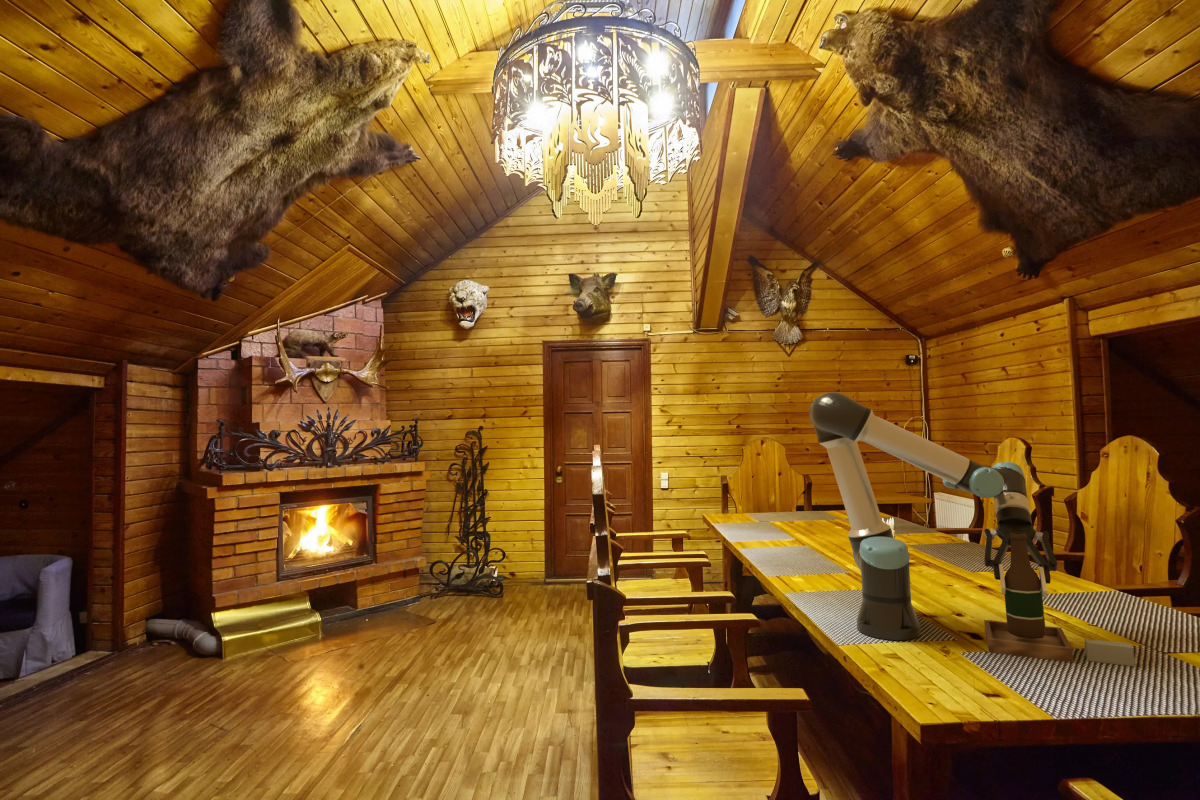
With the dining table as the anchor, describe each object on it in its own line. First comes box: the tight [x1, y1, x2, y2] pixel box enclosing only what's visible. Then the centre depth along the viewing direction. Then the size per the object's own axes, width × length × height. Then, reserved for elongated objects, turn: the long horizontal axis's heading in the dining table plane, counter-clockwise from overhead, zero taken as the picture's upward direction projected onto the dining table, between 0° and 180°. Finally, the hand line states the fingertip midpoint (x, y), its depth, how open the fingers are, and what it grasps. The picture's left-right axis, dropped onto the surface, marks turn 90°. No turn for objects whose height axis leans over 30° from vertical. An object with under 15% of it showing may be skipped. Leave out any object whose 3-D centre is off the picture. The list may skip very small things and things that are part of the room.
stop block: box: [1084, 638, 1136, 667], centre depth 138 cm, size 8×3×4 cm, turn 61°
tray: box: [983, 619, 1075, 663], centre depth 148 cm, size 16×16×3 cm
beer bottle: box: [1003, 532, 1046, 639], centre depth 149 cm, size 8×8×24 cm
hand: (1023, 592), depth 146 cm, fingers closed on beer bottle, 7 cm apart
